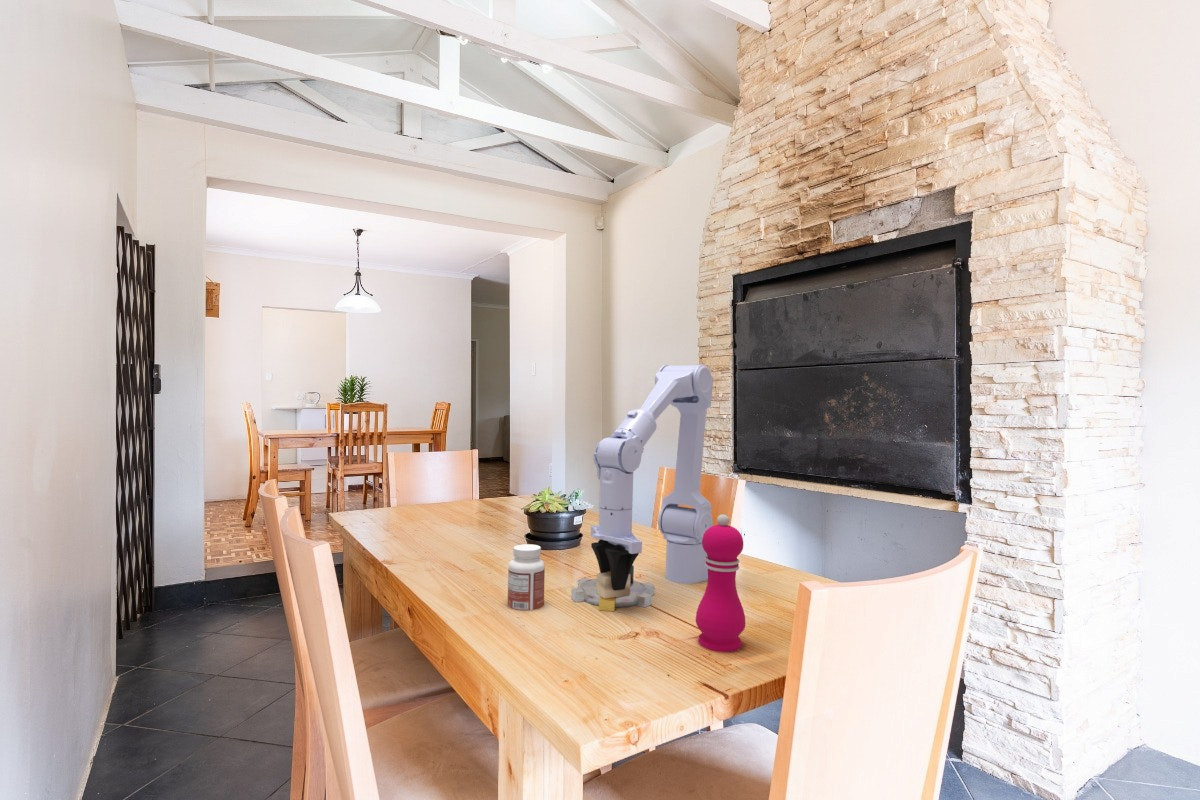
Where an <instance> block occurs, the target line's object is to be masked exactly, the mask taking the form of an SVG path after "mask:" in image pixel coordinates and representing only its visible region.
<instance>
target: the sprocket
mask: <svg viewBox="0 0 1200 800" xmlns="http://www.w3.org/2000/svg"><path fill="white" fill-rule="evenodd" d="M634 571H635V565H634V564H633V565H632V567H631V569H630V572H629V574H630V595H626V596H619V597H613V598H606V599H604V598H603V597H601V596H599V595H598V594H596V583H597V578H593V579H591V578H588V577H583V578H579V579H577V587H575V588H571V590H570V591H571V592H570V593H571V594H570V598H571V600H572V601H573V602H575V603H578V602H585V603H586V604H587V603H588V604H590V605H593V606H598V610H599V611H604V612H605V611H607V612H615V611H616V608H629V607H636V606H638V607H641V608H643V609H645V608H647V607H650V606H651V605H652V603H653V596H655V585H654V584H652V583H651V582H639V581H636V580H634Z"/></svg>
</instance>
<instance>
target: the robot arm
mask: <svg viewBox="0 0 1200 800" xmlns="http://www.w3.org/2000/svg"><path fill="white" fill-rule="evenodd" d="M713 386H714V378H713V376H712V373H711V370H710V369H709V368H708V367H707V365H706V364H695V365H690V364H689V365H684V364H683V365H669V364H664V365H661V366H660V368H659V369H658V371H657V372H656V373H655V375H654V386H653V387H652V389H651V391H650V392H649V394H648V396H647V398H646V399H645V401H644V402H643V404H642V406H641V407H640V408H634V409H632V410H628V412H627V414H626V416H625V418H624V419H623V420H622V422H620V424H619V425H618V427H617V428H616V429H615V430H614V432H613V433H612V434H611V435H610V437H604V438H603V439H601V440H600V441H599V442H598V443H597V444H596V447H595V449H594V453H592V457H593V462H594V465H595V468H596V470H597V473H596V474H597V475H596V477H597V478H598V480H599V499H598V500H599V503H598V505H599V507H598V508H599V509H598V512H599V513H598V525H590V537H592V539H595V540H598V542H596V541H595V542H592V543H591V544H590V545H591V549H592V551H593V553H594V555H595V557H596V561H597V564H598V568H599V573H604V572H609V571H611V584H612V588H613V590H623V589H625V586H626V583H627V579H628V576H629V572H630V569H631V567H632V565H633V566H634V562H635V561H636V559H637V557H638V556H639V554H642V552H643V541H642V540H640V539H638V537H636V536H635V534H634V533H633V532H632V531H633V530H632V528H633V502H634V500H633V496H634V495H633V494H634V472H636V470H637V469H638V468H639V467H640V464H641V462H642V455H643V453H644V451H645V448H644V447H646V444H647V443H648V441H649V440H650V439H651V438H652V437H653V434H654V433H655V432H656V430H657V422H656V420H657V419H658V418H660V416H661V414H663V413H664V411H665V410H666V409H667V408H668V407H669V406H670V405H671V406H672V407H674V408H676V409H677V410H678V412H679V413H680V417H679V419H680V420H679V430H678V440H677V451H676V459H675V460H676V463H675V472H674V484H673V490H672V491H671V492H670V493H669V494H667V495H665V496H664V497H663V499H662V504H661V508H660V510H659V511H660V512H659V513H658V517H657V526H658V529H659V532H660V533H661V534H662V535H663V539H664V540H666V548H665V551H666V552H665V555H666V556H665V580H667V581H669V582H671V583H676V584H681V585H683V584H685V585H687V584H688V585H692V584H698V583H702V582H707V581H708V568H706V567H705V563H706V561H705V557H706V556H707V553H706V552H705V551H704V549H703V546H702V538H703V535H704V533H705V531H706V530H707V529H708V528H710V527H711V526H714V521H713V520H714V519H713V516H712V503H711V502H710V501H709V500H708V499H707V498H706V497H705V496H704V495H703V494H701V482H702V480H701V479H702V468H703V457H704V445H705V434H706V422H707V421H706V420H707V410H708V409H709V408H711V406H712V400H713V399H712V398H713ZM679 505H681V506H679ZM686 506H687V507H686Z"/></svg>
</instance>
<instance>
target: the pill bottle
mask: <svg viewBox="0 0 1200 800" xmlns="http://www.w3.org/2000/svg"><path fill="white" fill-rule="evenodd" d="M512 548H513V549H512V550H513V551H512V556H513V557H514V558H513V559H511V560H510V561H509V563H508V570H507V572H508V575H507V577H508V578H507V606H508V608H510V609H512V610H516V611H535V610H539V609H541V608H543V607H544V606H545V569H546V568H545V567H546V566H545V562H544V561H543V560H542V559H541V558H540V557H541V554H542V547H541V546H540V545H538V544H532V543H531V544H530V543H525V544H523V543H522V544H517V545H515V546H513V547H512Z"/></svg>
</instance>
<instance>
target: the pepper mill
mask: <svg viewBox="0 0 1200 800" xmlns="http://www.w3.org/2000/svg"><path fill="white" fill-rule="evenodd" d="M716 522H717V524H713V526H711V527H710V528H708V529H707V530H706V531H705V533H704V535H703V538H702V546H703V549H704V551H705V552H706V553H707V556H706V557H705V561H706V563H705V567H706V568H708V581H706V582H707V583H706V588H705V591H704V593H703V596H702V598H701V600H700V602H699V603H698V606H697V609H696V614H695V623H696V626H697V628H698V630H700V632H701V633H700V634H699V635H698V639H697V640H698V644H699V645H700V646H701V647H702V648H704V649H707V650H710V651H714V652H719V653H727V652H728V653H732V652H736V651H738V650H740V649H741V648H742V639H741V638H740V635H741V634H742V633H743V632H744V630H745V628H746V615H745V610H744V608H743V605H742V602H741V600H740V598H739V594H738V590H737V584H736V581H737V580H736V576H737V571H738V570H739V569H740V566H739V563H740V559H738V557H739V555H740V554H741V553H742V552H743V550H744V538H743V536H742V534H741V532H740V531H739V530H738V529H737V528H735V527H734V526H731V525H729V524H730V518H729V516H728V515H726V514H723V513H722V514H719V515H718V516H717V519H716Z"/></svg>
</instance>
